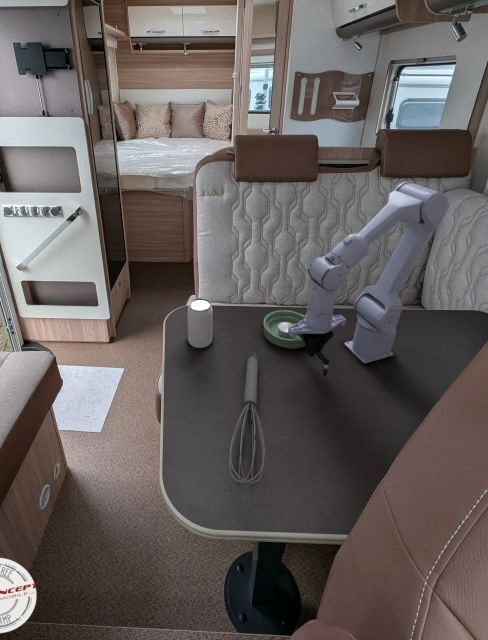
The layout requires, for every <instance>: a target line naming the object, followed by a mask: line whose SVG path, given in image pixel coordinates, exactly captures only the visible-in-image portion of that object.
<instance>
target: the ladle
mask: <svg viewBox="0 0 488 640" xmlns="http://www.w3.org/2000/svg"><path fill="white" fill-rule="evenodd" d="M293 325H294V324H292V323H289V322H283V323H280V324H279V325H278V334H279V335H280V336H281V337H283V338H292V337H291V336H290V335H289V334H288V329H289V327H290V326H293ZM298 336H299V337H300V338H301V339H302V340H303V341H304V338H303V335H302V334H300V335H298ZM304 342H305V341H304ZM314 355H315V356H317V358H318V359H319V360H320V361H321V362H322V363H323V368H322V375H323V377H327V375H328V372H329V365H330V360H329V359H328V358H327V357H326V356H325V354H323V353H322V351H321V352H320V351H319V350H318V349H317V348H315V353H314Z"/></svg>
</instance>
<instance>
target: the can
mask: <svg viewBox="0 0 488 640" xmlns="http://www.w3.org/2000/svg"><path fill="white" fill-rule="evenodd" d="M187 342H188V343H189V346H190V345H191V346H192V347H194V348H195V349H204V348H208V346H210V345H211V343H212V342H213V307H212V302H211V301H210V300H209V299H207V298H204V297H197V298H193V299H191V300H190V301H189V303H188V307H187Z"/></svg>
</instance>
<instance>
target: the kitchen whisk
mask: <svg viewBox="0 0 488 640" xmlns="http://www.w3.org/2000/svg"><path fill="white" fill-rule="evenodd" d="M258 374H259V361H258V358H257V357H256V355H255V353H253V354H252V356H250V357H248V359H247V362H246V371H245V384H244V396H243V397H244V398H243V409H242V412H241V413H240V416H239V418H238V420H237V423H236V426H235V428H234V429H233V434H232V438H231V442H230V450H229V465H231V467H229V472H230V475H231V477H232V478H233V479H234V480H235V481H236V482H239V483H241V484H243V483H246V484H247V486H249V485H251V484H254V483H256V482H259V481H260V479H261V477H262V475H263V470H264V463H265V457H262V465H261V467H260V469H259V471H258V473H257V474H256V475H255V476H253V474H254V459H255V452H256V451H255V450H256V441H254V433H256V424H257V428H258V433H259V439H260V444H261V445H260V446H261V452H262V453H261V454H262V456H264V452H265V451H266V450H265V447H264V446H265V440H264V433H263V428H262V426H261V421H260V418H259V415H258V413H257V410H256V408H257V402H258V399H257V398H258V396H257V395H258ZM249 411H250V417H251V420H253V419H255V420H256V423H255V420H253V425H251V436H252V437H251V439H252V442H251V443H252V444H253V454H252V461H251V466H250V469H249V471H248V474H247V476H246V477H245V475H244V470H243V464H242V463H241V461H242V449H243V443H244V436H245V432H246V431H245V430H246V425H247V419H248V415H249ZM243 417H244V418H243ZM242 419H243V422H242V429H241V435H240V436H241V437H240V442H241V443H239V444H240V446H239V447H240V448H239V453H240V454H239V461H238V472H237V471H236V470H235V468H234V465H233V461H232V451H233V447H234V443H235V439H236V436H237V433H238V431H239V427H240V424H241V421H242ZM253 429H254V430H253ZM231 468H232V470H233V472H234V473H235V475H236V476H237V477H238V479H237V478H236V477H235V476H234V475H233V473H232V470H231ZM240 468H241V469H240ZM240 471H241V472H240ZM240 473H242V476H243V477H241V476H240V475H241V474H240ZM250 474H251V478H249V479H248V477H249V476H250ZM259 475H260V476H259ZM258 476H259V478H258V479H256V478H257V477H258ZM247 479H248V480H247ZM255 479H256V480H255ZM253 480H255V481H253Z"/></svg>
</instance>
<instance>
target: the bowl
mask: <svg viewBox="0 0 488 640" xmlns="http://www.w3.org/2000/svg"><path fill="white" fill-rule="evenodd" d="M303 319H305V315H304V314H303V313H299V312H297V311H293V310H287V309H283V310H282V309H278V310H273V311H272V312H270V313H267V314H266V315H265V316H264V318H263V321H262V333H263V336H264V337H265V338H266V339H267V341H269V342H270V343H272V344H273V345H276V346H278V347H281V348H285V349H300V348H303V347H306V346H305V342H304V341H303V340H302V339H301V338H300V337H299V336H298V335H296V338H283V337H281V336H280V335H279V334H278V325H279V324H280V323H283V322H289V323H292V324H294V325H295V324H297V323H298V322H300V321H302V320H303Z"/></svg>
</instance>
